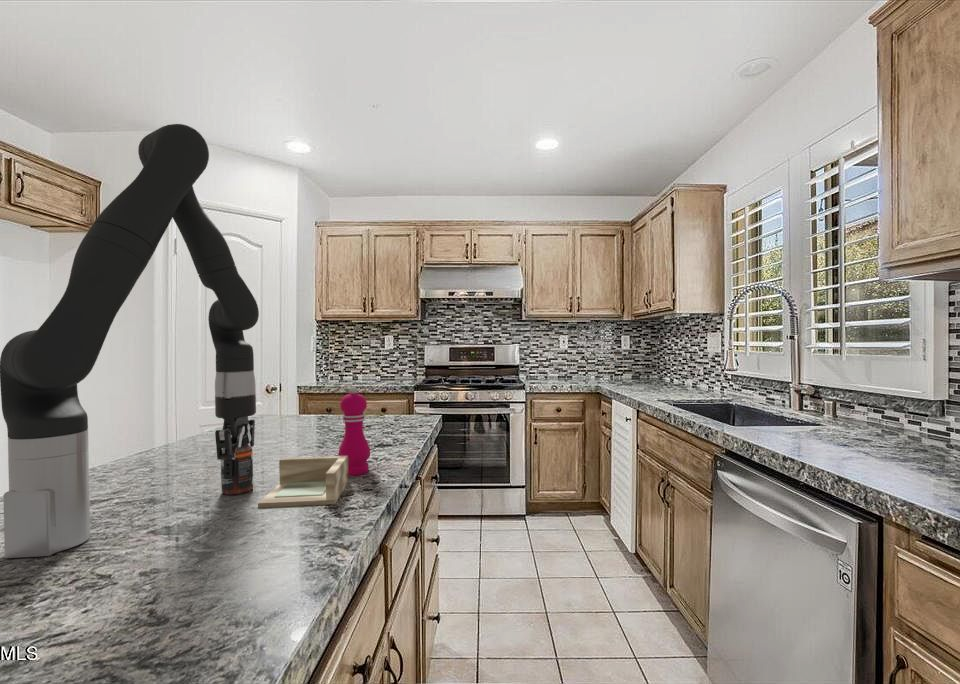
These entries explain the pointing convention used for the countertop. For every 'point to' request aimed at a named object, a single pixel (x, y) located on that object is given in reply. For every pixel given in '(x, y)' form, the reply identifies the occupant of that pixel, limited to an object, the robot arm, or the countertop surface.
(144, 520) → the countertop surface
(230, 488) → the supplement bottle
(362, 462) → the pepper mill
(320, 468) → the tray
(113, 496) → the countertop surface
